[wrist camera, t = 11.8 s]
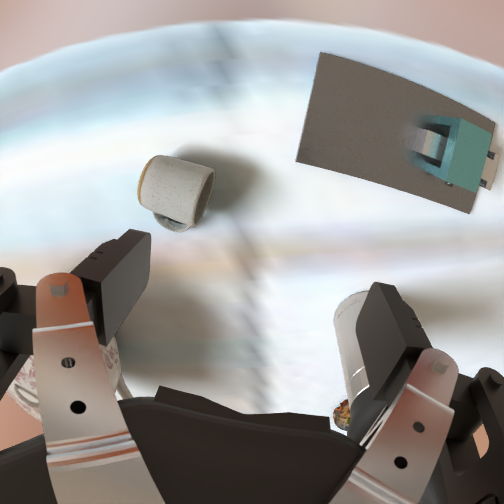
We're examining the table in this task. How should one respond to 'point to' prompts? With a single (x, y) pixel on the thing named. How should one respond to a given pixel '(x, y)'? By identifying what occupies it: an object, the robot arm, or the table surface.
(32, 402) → the chamber pot
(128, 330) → the table surface
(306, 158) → the base
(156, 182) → the ceramic mug
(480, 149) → the block
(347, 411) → the mottled brown knobbed disc
